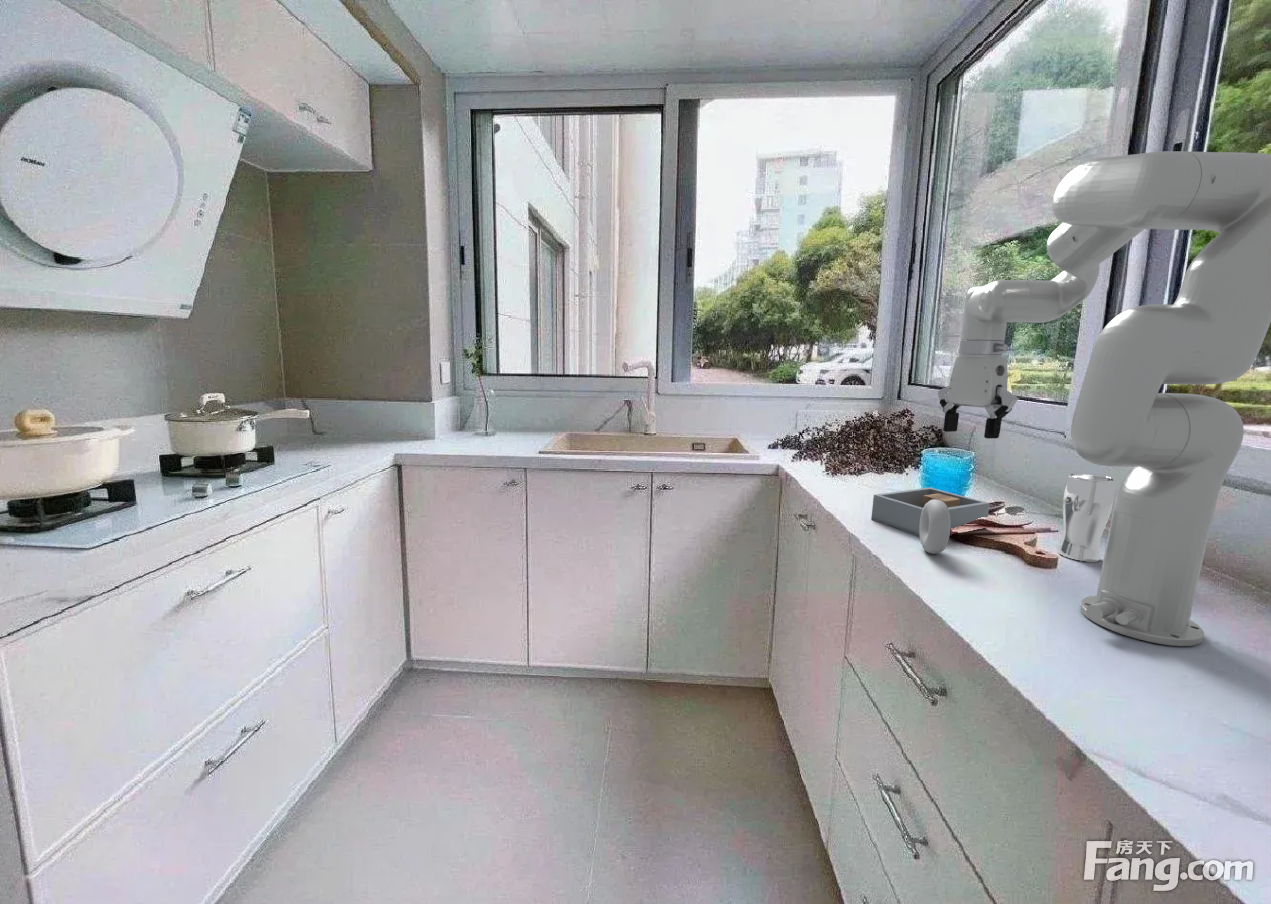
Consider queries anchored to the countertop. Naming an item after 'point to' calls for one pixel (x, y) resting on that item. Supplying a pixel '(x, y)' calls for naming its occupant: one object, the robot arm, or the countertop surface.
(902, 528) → the tray
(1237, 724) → the countertop surface
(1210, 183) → the robot arm
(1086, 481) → the beer glass
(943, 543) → the donut
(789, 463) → the countertop surface
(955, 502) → the walnut cube
